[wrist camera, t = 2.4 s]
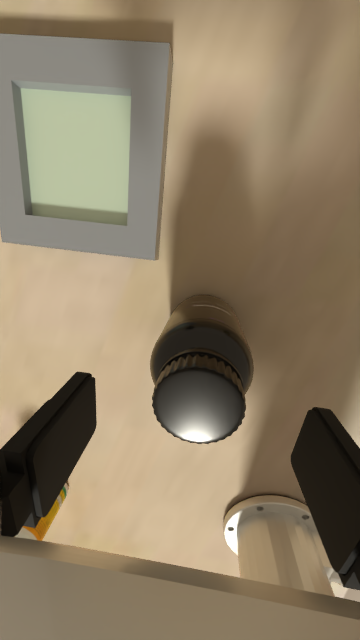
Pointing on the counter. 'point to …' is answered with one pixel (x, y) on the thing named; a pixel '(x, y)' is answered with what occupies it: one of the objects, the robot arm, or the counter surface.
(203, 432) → the supplement bottle
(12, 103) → the picture frame
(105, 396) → the counter surface
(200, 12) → the counter surface
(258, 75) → the counter surface
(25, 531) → the supplement bottle
